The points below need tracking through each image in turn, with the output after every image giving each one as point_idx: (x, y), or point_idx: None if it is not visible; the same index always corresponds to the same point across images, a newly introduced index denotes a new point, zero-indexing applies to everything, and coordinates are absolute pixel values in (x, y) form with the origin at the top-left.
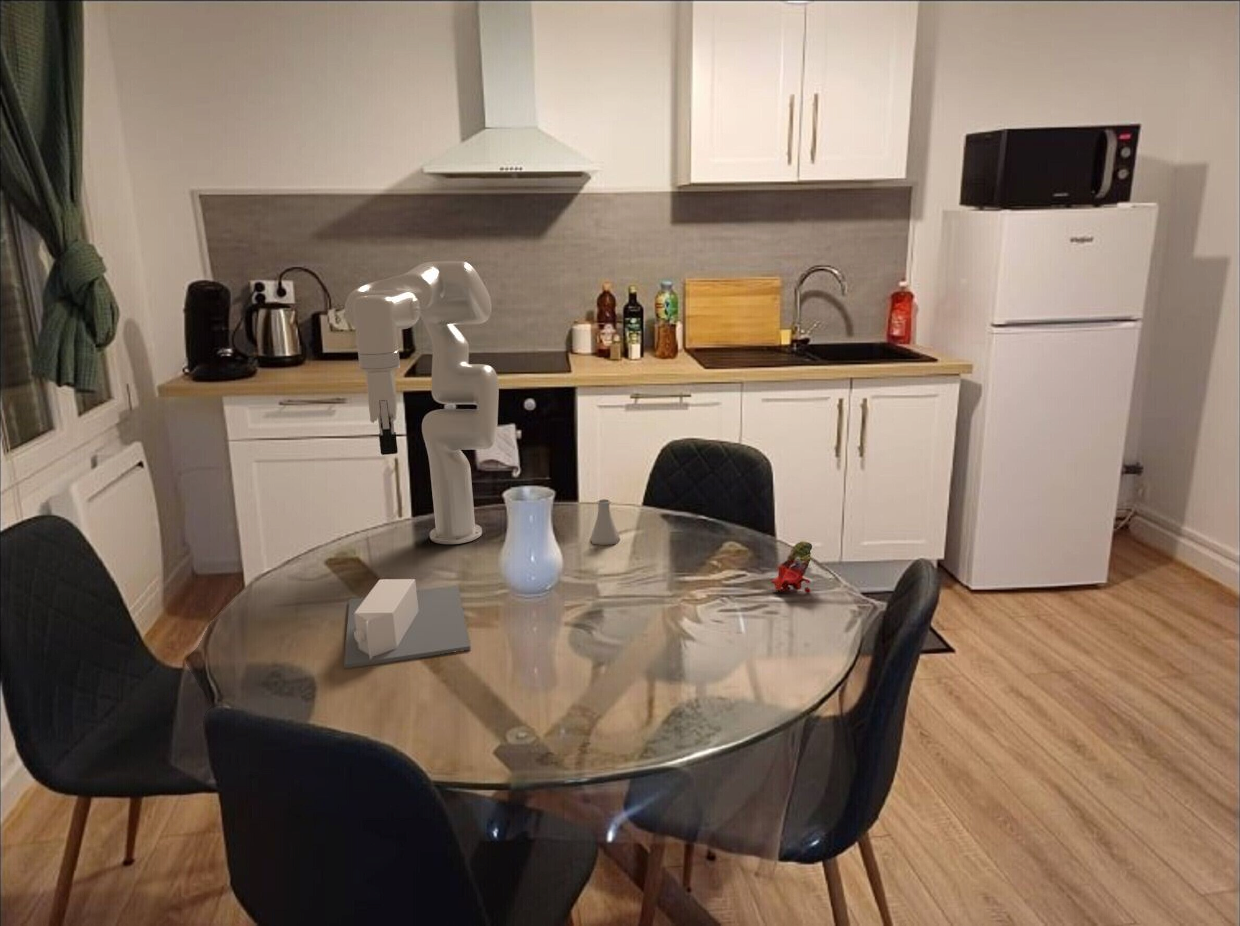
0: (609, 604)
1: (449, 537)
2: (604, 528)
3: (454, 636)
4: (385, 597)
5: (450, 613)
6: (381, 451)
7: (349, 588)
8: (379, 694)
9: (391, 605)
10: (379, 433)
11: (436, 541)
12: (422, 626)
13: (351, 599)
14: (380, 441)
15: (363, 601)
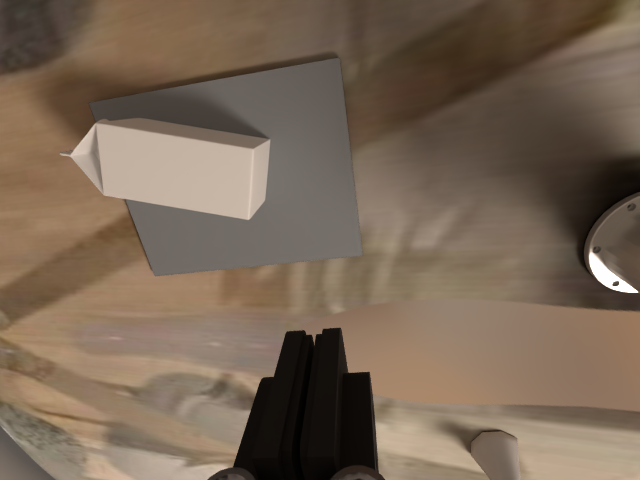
0: None
1: (611, 234)
2: (487, 467)
3: (181, 256)
4: (165, 174)
5: (255, 248)
6: (285, 346)
7: (416, 39)
8: (35, 168)
9: (132, 189)
10: (334, 460)
11: (615, 205)
12: None
13: (337, 62)
14: (267, 408)
15: (146, 132)
